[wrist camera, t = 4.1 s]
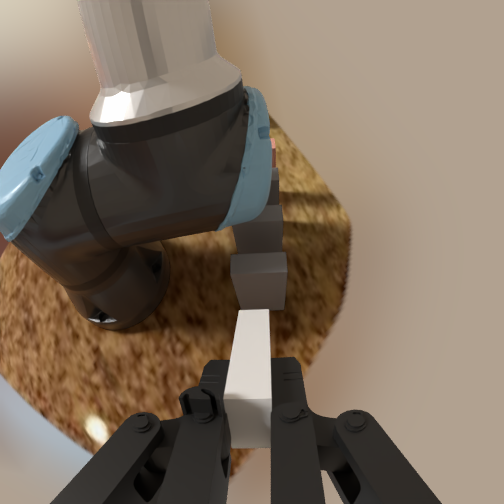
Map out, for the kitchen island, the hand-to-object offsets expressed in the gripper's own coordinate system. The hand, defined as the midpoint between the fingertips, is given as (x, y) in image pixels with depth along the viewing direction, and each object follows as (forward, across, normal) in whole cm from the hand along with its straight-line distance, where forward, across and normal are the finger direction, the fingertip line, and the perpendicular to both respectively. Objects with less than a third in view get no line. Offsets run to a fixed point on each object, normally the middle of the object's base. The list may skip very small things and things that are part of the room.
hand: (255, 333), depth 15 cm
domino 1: (+23, 0, -3) cm, 23 cm away
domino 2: (+19, 0, -7) cm, 20 cm away
